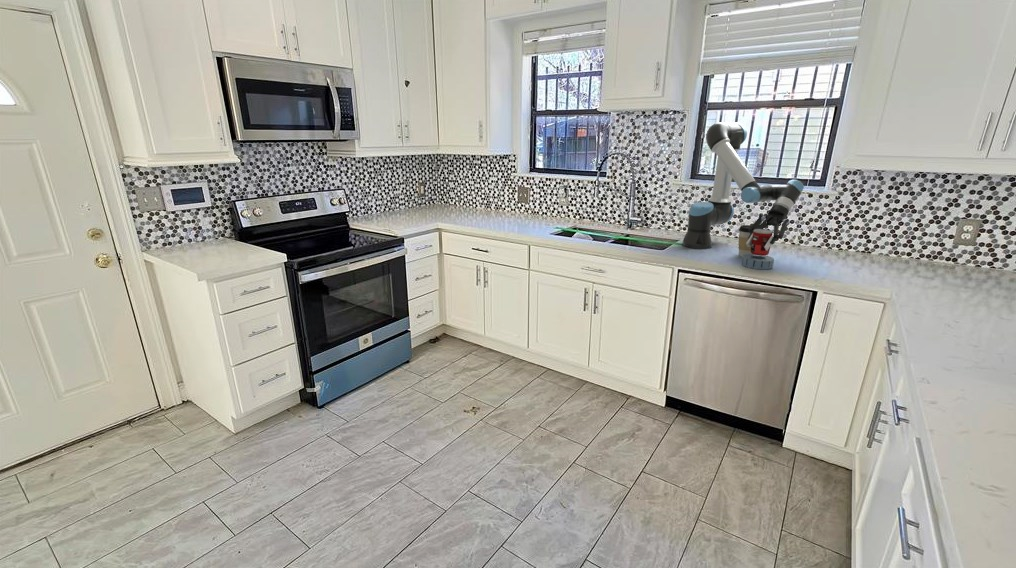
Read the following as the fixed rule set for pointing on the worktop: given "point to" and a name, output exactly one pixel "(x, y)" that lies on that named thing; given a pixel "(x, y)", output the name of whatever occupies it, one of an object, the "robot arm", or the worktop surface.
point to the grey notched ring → (757, 261)
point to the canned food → (760, 241)
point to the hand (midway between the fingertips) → (756, 247)
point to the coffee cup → (744, 240)
